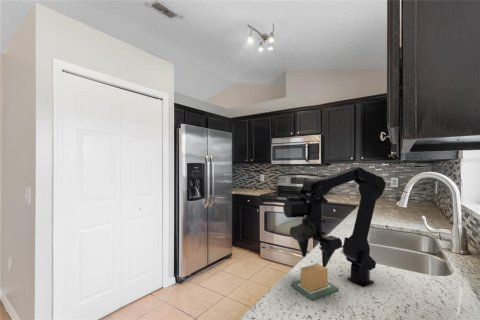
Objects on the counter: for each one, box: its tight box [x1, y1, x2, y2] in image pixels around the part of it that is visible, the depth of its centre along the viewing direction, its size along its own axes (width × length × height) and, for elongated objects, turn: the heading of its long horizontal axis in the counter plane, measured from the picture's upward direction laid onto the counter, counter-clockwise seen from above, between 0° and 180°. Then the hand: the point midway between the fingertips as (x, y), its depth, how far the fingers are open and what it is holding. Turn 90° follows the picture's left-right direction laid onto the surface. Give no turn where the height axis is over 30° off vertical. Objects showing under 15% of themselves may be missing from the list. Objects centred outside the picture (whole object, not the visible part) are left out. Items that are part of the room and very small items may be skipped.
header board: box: [290, 279, 339, 302], centre depth 79 cm, size 12×10×4 cm
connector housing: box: [300, 263, 329, 292], centre depth 79 cm, size 8×4×6 cm, turn 118°
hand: (313, 261), depth 79 cm, fingers open, 9 cm apart
